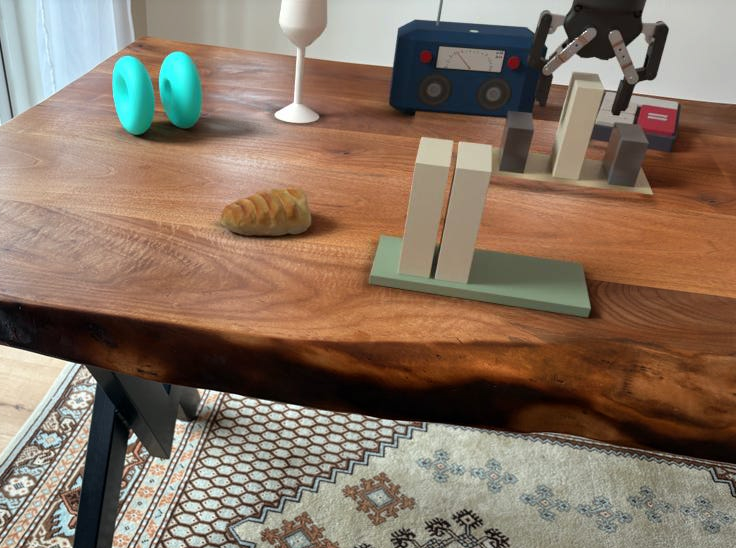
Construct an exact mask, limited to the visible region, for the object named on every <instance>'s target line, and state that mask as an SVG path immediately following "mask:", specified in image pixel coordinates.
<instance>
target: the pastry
mask: <svg viewBox="0 0 736 548" xmlns="http://www.w3.org/2000/svg"><path fill="white" fill-rule="evenodd" d="M220 223H221V225H222V226H223V227H224V228H226V229H227V230H229V231H231V232H234V233H236V234H238V235H240V236H242V235H245V236H248V237H251V236H260V237H263V236H271V237H273V236H274V237H276V236H285V235H287V234H291V235H298V234H299V235H300V234H301V233H304V232H306V231H308V228H309V227H310V226H311V225H312V216H311V210H310V207H309V205H308V199H307V196H306V194H305V192H304V191H303V189H301V188H300V187H294V186H291V185H290V186H289V187H288V188H287V189H282V188H281V189H280V188H271V189H263V188H262V189H260V190H258V191H256V192H255V193H254V194H251V195H249V196H246V197H241V198H239V199H237V200H235V201H234V202H231V203H229V204H227V205H225V206H224V208H223V210H222V212H221V215H220Z"/></svg>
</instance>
